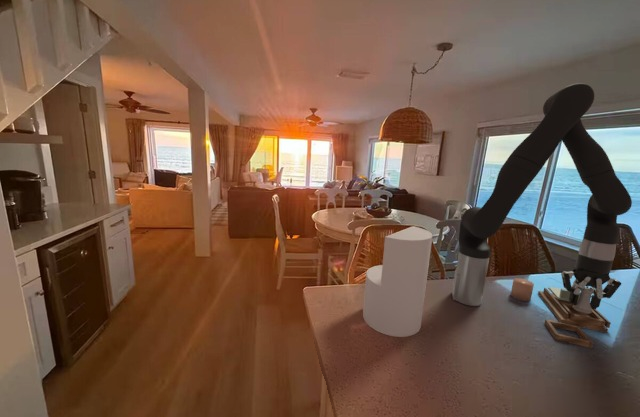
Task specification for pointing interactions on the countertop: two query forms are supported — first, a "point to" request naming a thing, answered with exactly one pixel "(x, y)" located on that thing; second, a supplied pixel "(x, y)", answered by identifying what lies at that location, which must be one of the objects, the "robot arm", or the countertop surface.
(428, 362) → the countertop surface
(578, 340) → the wooden square frame
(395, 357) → the countertop surface
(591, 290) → the rook chess piece
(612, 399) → the countertop surface
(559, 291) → the cover
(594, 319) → the shallow wooden box
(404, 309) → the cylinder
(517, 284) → the tan rounded block
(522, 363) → the countertop surface
